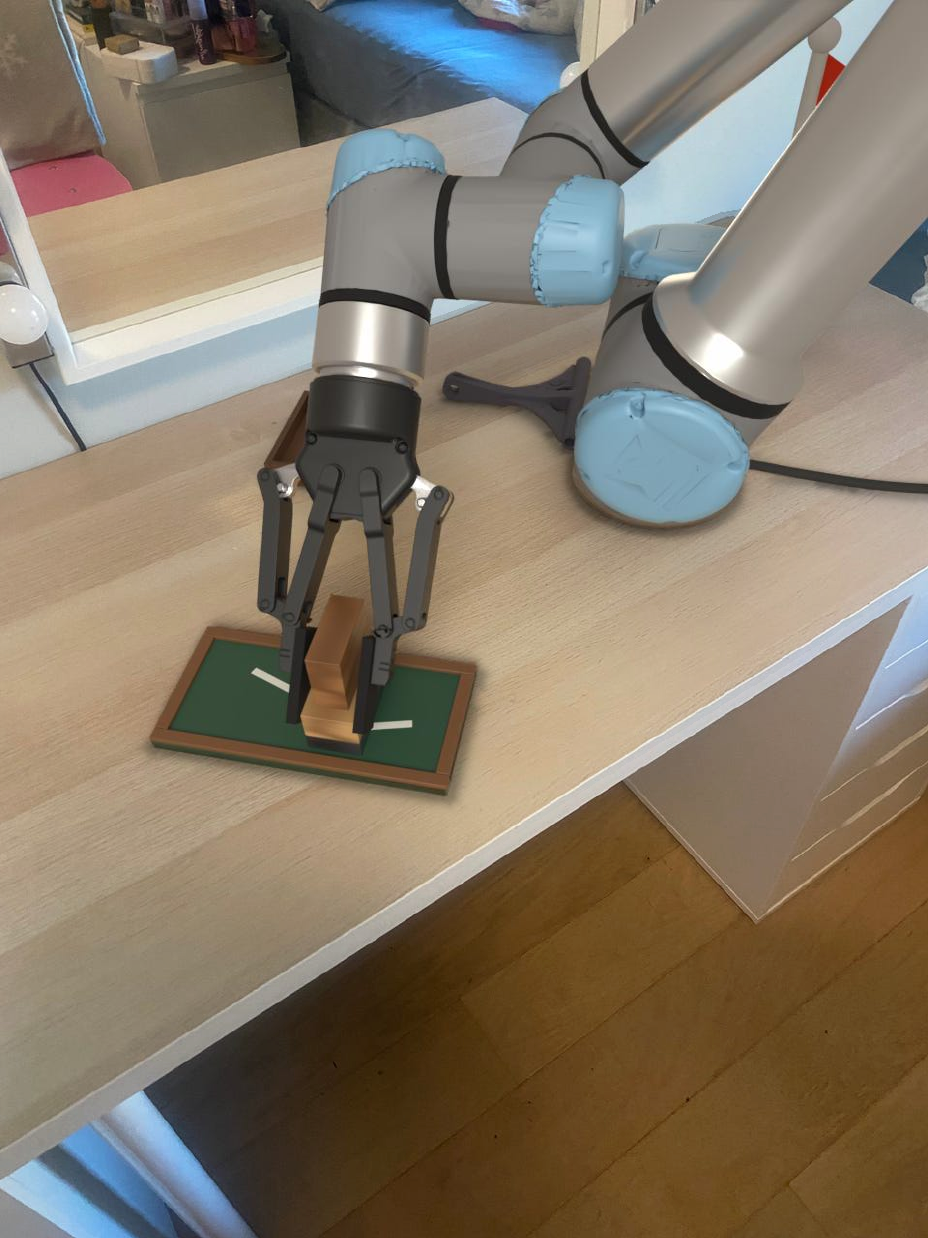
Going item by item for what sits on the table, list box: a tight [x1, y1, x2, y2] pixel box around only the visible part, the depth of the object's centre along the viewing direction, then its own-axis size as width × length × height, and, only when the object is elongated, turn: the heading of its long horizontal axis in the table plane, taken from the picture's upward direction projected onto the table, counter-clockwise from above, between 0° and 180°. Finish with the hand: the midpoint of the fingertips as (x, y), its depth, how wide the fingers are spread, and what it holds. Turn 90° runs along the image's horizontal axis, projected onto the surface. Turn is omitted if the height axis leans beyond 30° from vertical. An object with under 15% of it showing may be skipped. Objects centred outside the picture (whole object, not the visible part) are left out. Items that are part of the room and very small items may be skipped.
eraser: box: [300, 593, 384, 756], centre depth 63 cm, size 4×8×9 cm, turn 169°
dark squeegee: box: [441, 356, 592, 451], centre depth 93 cm, size 14×15×3 cm
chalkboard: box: [149, 625, 477, 797], centre depth 67 cm, size 22×11×1 cm, turn 79°
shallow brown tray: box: [263, 390, 309, 488], centre depth 88 cm, size 8×12×2 cm
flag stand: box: [790, 16, 846, 142], centre depth 92 cm, size 13×13×30 cm
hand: (330, 724), depth 62 cm, fingers closed on eraser, 4 cm apart
